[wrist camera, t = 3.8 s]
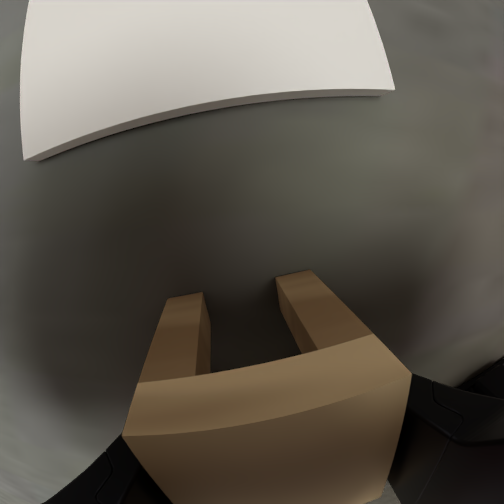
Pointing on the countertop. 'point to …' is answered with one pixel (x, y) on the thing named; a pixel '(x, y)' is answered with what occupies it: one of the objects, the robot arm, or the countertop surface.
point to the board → (184, 61)
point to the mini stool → (270, 408)
